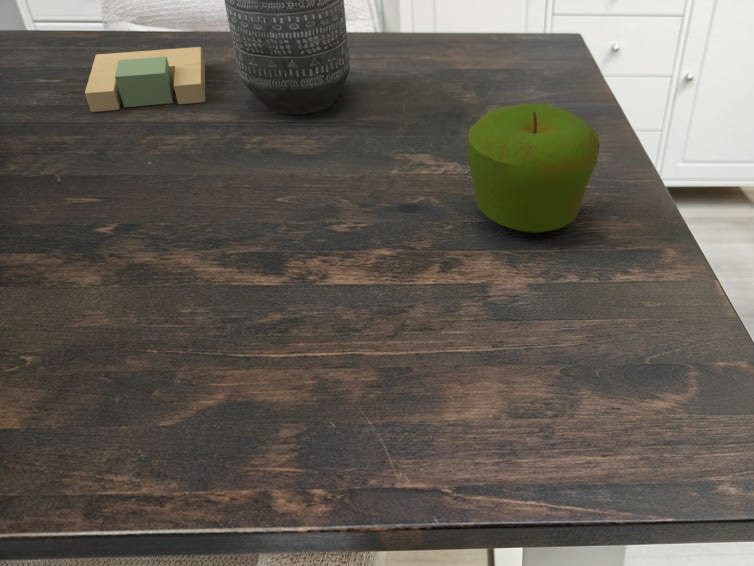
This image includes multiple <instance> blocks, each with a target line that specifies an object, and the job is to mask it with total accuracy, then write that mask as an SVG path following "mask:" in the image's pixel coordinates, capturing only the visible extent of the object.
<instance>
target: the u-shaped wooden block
mask: <svg viewBox="0 0 754 566" xmlns="http://www.w3.org/2000/svg"><path fill="white" fill-rule="evenodd" d="M154 57H167V60H168V64H169V68H170V72H171V76H172V80H173V84H174V94H175V97H176V102H177V104H178V105H189V104H200V103H206V64H205V63H206V62H205V58H204V54H203V50H202V47H201V46H193V47H180V48H168V49H167V48H166V49H154V50H139V51H126V52H125V51H124V52H111V53H97V54H95V57H94V60H93V64H92V66H91V67H92V68H91V71H90V74H89V76H88V81H87V84H86V87H85V91H84V96H85V98H86V102H87V104H88V107H89V110H90V113H97V112H109V111H120V108H121V102H122V99H121V95H120V92H119V89H118V86H117V82H116V79H115V74H116V70H117V65H118V61H119V60H127V59H140V58H154Z"/></svg>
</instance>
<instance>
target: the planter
mask: <svg viewBox="0 0 754 566" xmlns="http://www.w3.org/2000/svg"><path fill="white" fill-rule="evenodd" d="M224 6H225V12H226V18H227V23H228V28H229V32H230V37H231V42H232V47H233V53H234V60H235V64H236V69H237V73H238V76H239V78H240V80H241V81H242V82H243V84H244V85H245V86H246V87H247V89H248V90H249V92H251V94H252V95H253V96H254V97H255V98H256V99H257V101H258V102H259V103H261V105H262V106H263V107H264V108H265V109H267V110H268V111H270V112H273V113H276V114H280V115H291V116H293V115H294V116H298V115H299V116H300V115H307V114H314V113H318V112H320V111H321V112H322V111H324V110H326V109H328V108H330V107H331V106H333V105H335V103H336V101H337V99H338V97H339V95H340V93H341V91H342V90H343V88H344V85H345V83H346V81H347V78H348V76H349V74H350V70H351V58H350V48H349V47H350V46H349V40H348V33H347V32H348V31H347V20H346V10H345V0H224Z"/></svg>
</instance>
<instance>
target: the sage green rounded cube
mask: <svg viewBox="0 0 754 566" xmlns="http://www.w3.org/2000/svg"><path fill="white" fill-rule="evenodd" d="M115 79H116V82H117V86H118V89H119V92H120V95H121V102H122V105H123V108H136V107H145V106H146V107H147V106H158V105H169V104H170V105H171V104H173V103H174V94H175V89H174V84H173V80H172V76H171V72H170V68H169V64H168V60H167V57H154V58H140V59H127V60H119V61H118V65H117V70H116V74H115Z"/></svg>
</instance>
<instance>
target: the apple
mask: <svg viewBox="0 0 754 566" xmlns="http://www.w3.org/2000/svg"><path fill="white" fill-rule="evenodd" d="M467 140H468V141H467V162H468V167H469V171H470V175H471V179H472V183H473V188H474V192H475V193H474V194H475V197H476V202H477V206H478V209H479V210H480V211H481V212H482V214H484V216H485V217H487V218H488V219H490V220H491V221H493V222H495V223H496V224H498V225H500V226H502V227H505V228H508V229H511V230H514V231H517V232H522V233H530V234H538V233H544V232H548V231H549V232H550V231H554V230H559V229H561V228H564V227H565V226H568V225H570V224H571V223H573V222H574V221H575V219H576V217H577V216H578V214H579V212H580V209H581V206H582V203H583V200H584V196H585V194H586V190H587V186H588V184H589V182H590V181H591V180H590V179H591V178H592V175H593V173H594V172H595V171H594V170H595V168H596V166H597V164H598V159H599V152H600V146H601V144H600V137H599V133H598V132H597V131H596V130H595V129H594V128H593V127H592V126H591V125H590V124H589V123H587V122H586V121H585V120H583V118H581V117H580V116H578V115H576V114H574V113H572V112H570V111H568V110H567V109H564V108H562V107H557V106H554V105H551V104H547V103H521V104H512V105H511V104H510V105H504V106H501V107H497V108H493V109H490V110H488V111H487V112H486V113H485V114H483V115H482V116H481V117H480V118H479V119H478V120H477V121H476V122H475V123H474V124H473V125H472V126H470V128H468V138H467Z"/></svg>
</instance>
